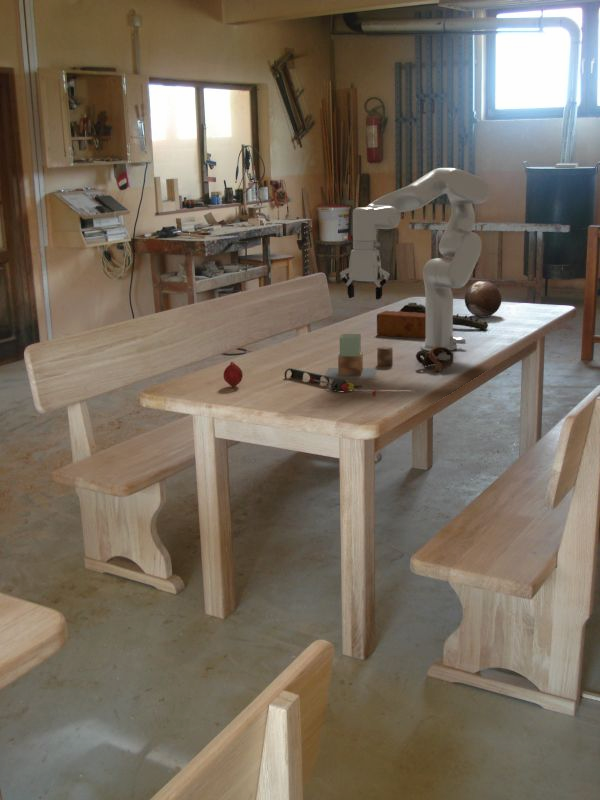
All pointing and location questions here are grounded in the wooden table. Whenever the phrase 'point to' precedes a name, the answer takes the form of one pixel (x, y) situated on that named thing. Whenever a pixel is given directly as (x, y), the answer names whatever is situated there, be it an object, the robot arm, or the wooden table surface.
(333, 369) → the mat
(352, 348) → the tower mid
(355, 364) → the tower base
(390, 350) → the dowel
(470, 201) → the robot arm
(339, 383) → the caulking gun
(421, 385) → the wooden table surface
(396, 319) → the brick
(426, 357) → the pottery mug
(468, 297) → the wooden sphere
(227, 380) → the onion
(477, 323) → the wooden club
